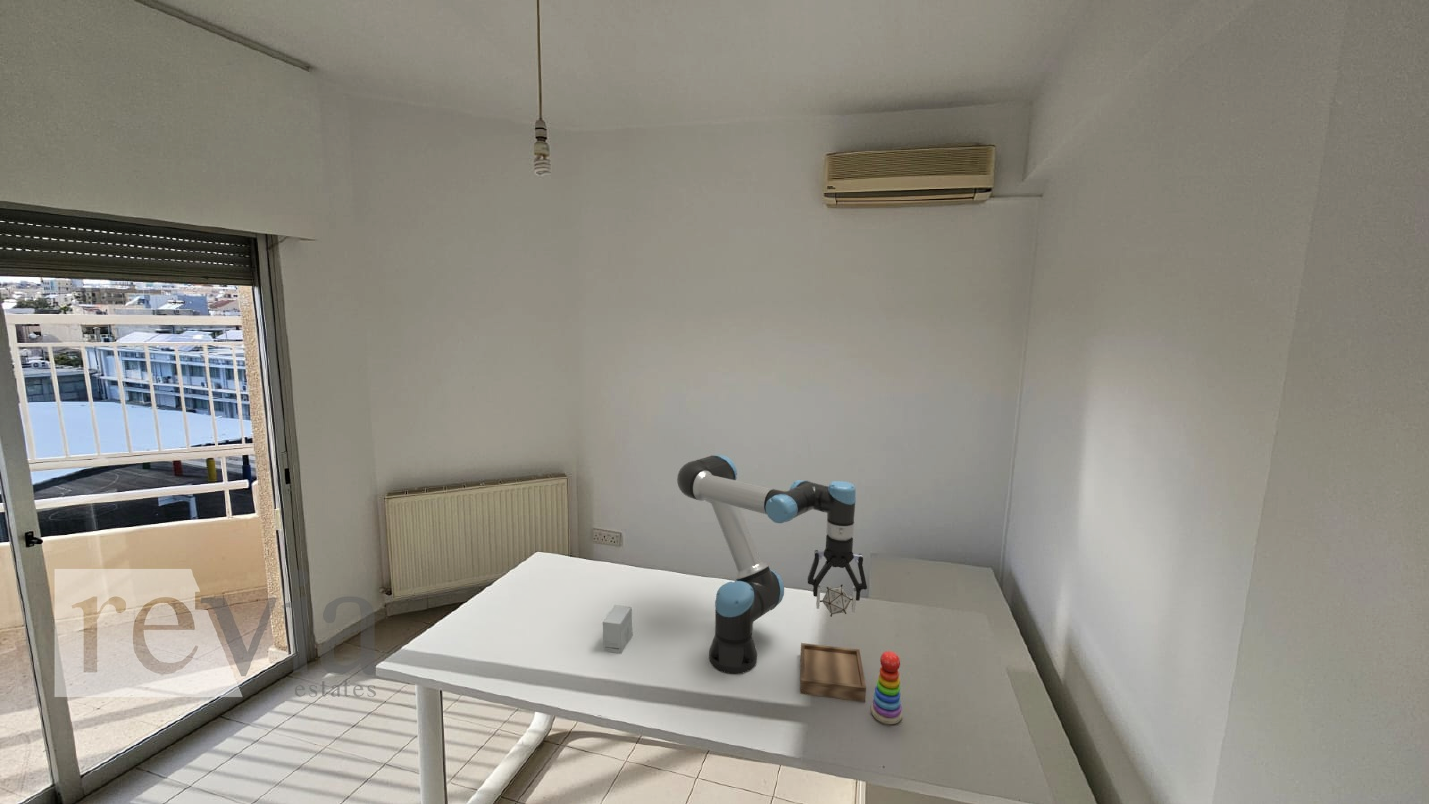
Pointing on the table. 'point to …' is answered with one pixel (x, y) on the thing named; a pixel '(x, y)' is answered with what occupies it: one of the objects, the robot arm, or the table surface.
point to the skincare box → (617, 629)
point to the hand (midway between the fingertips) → (835, 608)
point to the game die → (836, 600)
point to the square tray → (832, 672)
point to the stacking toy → (888, 691)
